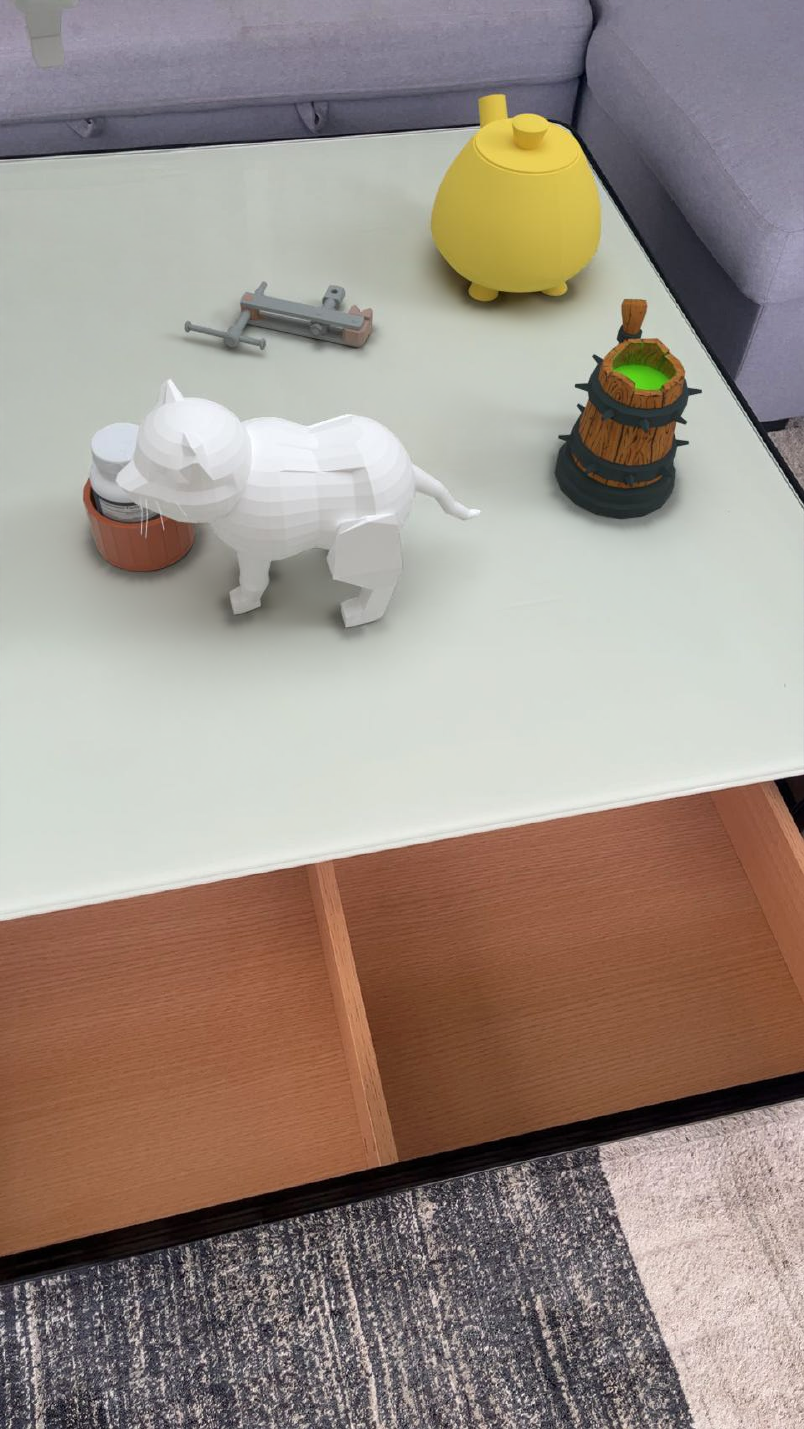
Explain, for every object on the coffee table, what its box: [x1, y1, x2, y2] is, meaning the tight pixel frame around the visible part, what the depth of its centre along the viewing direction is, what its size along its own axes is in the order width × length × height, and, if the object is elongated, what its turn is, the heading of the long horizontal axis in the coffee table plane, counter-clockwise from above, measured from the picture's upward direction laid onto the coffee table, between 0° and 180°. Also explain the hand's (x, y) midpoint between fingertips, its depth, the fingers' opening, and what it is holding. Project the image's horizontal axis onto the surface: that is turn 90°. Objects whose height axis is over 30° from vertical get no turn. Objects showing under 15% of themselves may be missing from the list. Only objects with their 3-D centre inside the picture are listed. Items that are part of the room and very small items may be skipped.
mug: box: [554, 298, 703, 520], centre depth 82 cm, size 13×10×12 cm
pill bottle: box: [89, 421, 163, 524], centre depth 75 cm, size 5×5×9 cm
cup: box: [82, 476, 196, 572], centre depth 78 cm, size 7×7×4 cm
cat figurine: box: [107, 378, 482, 628], centre depth 71 cm, size 25×10×17 cm, turn 106°
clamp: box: [184, 281, 374, 351], centre depth 93 cm, size 15×2×10 cm
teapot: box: [430, 93, 602, 302], centre depth 97 cm, size 20×16×14 cm
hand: (32, 26), depth 66 cm, fingers open, 8 cm apart
